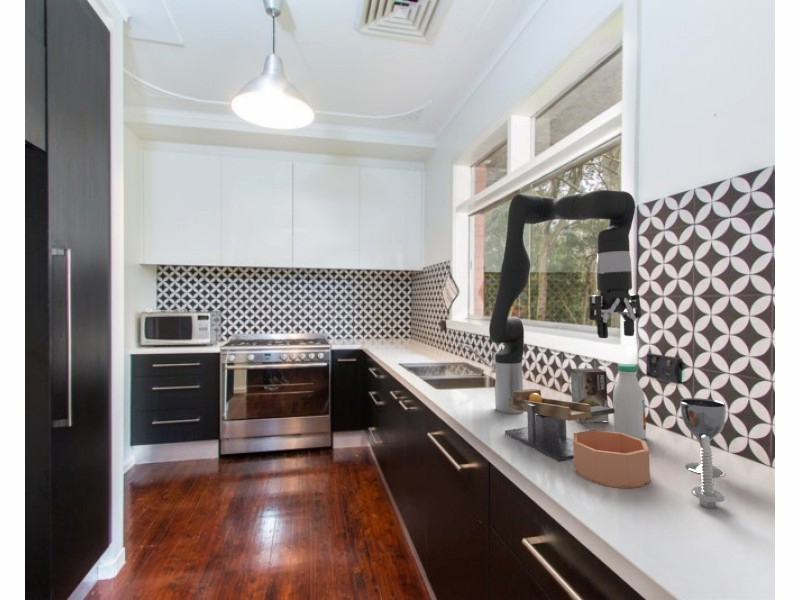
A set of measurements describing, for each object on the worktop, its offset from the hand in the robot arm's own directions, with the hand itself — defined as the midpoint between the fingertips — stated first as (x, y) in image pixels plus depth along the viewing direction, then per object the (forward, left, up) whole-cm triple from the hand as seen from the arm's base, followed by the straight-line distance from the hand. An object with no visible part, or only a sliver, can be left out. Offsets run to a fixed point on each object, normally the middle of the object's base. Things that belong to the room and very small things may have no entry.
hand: (616, 336), depth 95 cm
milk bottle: (-9, +14, -30) cm, 34 cm away
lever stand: (-14, -10, -29) cm, 34 cm away
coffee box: (-25, +16, -30) cm, 42 cm away
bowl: (+6, -10, -29) cm, 32 cm away
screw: (+23, -5, -30) cm, 38 cm away
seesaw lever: (-14, -7, -21) cm, 26 cm away
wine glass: (+13, +10, -30) cm, 34 cm away
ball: (-18, -10, -18) cm, 28 cm away
